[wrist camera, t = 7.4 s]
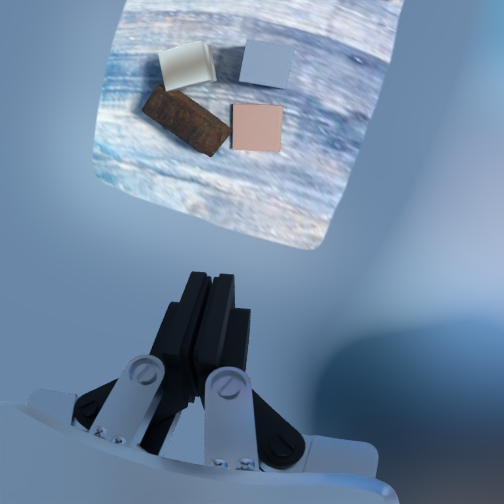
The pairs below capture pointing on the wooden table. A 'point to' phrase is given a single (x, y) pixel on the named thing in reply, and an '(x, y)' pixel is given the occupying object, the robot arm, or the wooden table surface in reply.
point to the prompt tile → (257, 127)
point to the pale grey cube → (187, 66)
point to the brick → (187, 120)
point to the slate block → (266, 64)
